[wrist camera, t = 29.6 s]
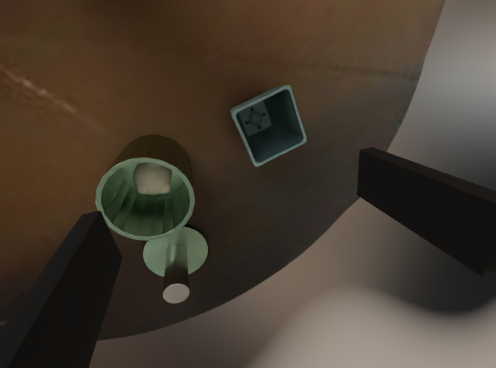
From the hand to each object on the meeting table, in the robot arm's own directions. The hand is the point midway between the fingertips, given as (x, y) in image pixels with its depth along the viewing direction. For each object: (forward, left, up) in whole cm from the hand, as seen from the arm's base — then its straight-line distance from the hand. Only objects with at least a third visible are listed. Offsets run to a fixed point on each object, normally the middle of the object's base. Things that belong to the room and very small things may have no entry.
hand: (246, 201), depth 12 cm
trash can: (+7, -9, -31) cm, 33 cm away
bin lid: (+24, -10, -30) cm, 40 cm away
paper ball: (+7, -9, -27) cm, 29 cm away
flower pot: (+2, +9, -31) cm, 32 cm away
